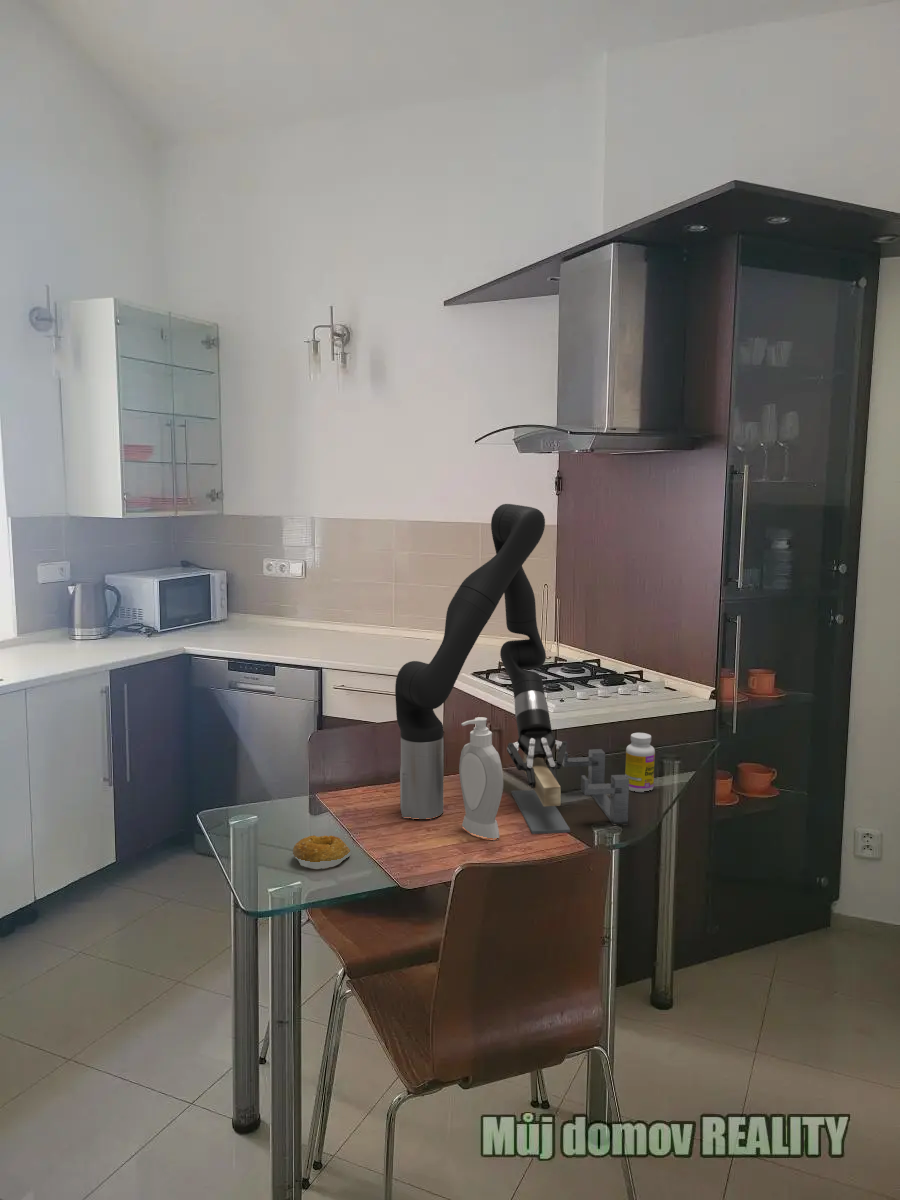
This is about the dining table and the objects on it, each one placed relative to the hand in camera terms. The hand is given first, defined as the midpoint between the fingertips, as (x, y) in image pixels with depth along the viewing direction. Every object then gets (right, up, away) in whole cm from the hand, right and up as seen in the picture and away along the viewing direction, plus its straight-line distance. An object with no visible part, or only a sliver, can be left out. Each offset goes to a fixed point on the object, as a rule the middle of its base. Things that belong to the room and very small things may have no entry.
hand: (543, 785), depth 197 cm
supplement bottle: (+24, -5, +19) cm, 31 cm away
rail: (0, -1, +2) cm, 2 cm away
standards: (+12, -6, +6) cm, 15 cm away
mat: (-1, -6, +4) cm, 7 cm away
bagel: (-45, -10, -21) cm, 50 cm away
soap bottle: (-15, -8, -9) cm, 19 cm away
